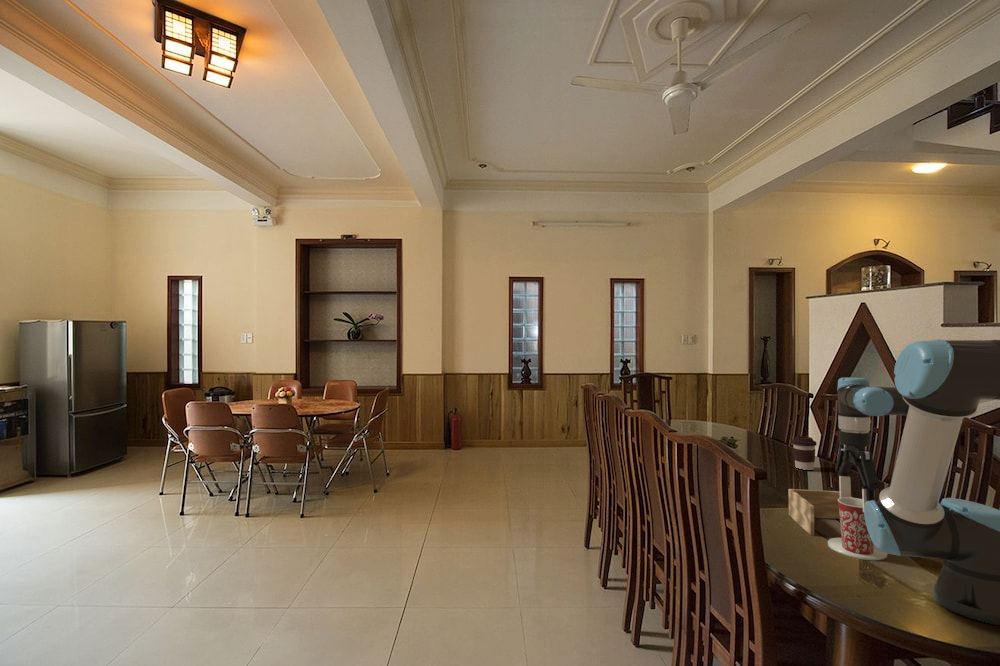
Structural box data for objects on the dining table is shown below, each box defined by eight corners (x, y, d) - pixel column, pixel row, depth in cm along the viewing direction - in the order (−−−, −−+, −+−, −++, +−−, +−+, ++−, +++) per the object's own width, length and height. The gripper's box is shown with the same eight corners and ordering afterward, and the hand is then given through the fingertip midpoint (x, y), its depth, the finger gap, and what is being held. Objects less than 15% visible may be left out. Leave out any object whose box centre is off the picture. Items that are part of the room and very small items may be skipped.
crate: (872, 539, 151) (871, 509, 152) (810, 535, 155) (810, 506, 155) (843, 518, 170) (843, 491, 170) (788, 514, 173) (788, 488, 173)
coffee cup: (796, 465, 241) (796, 434, 241) (820, 469, 233) (819, 437, 233) (788, 469, 234) (788, 437, 235) (812, 473, 227) (811, 440, 227)
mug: (877, 559, 136) (876, 509, 136) (837, 551, 141) (836, 503, 141) (877, 544, 146) (876, 497, 146) (840, 537, 151) (838, 492, 151)
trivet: (898, 562, 136) (898, 559, 136) (841, 558, 138) (841, 555, 138) (871, 542, 149) (871, 539, 149) (819, 538, 152) (819, 536, 152)
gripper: (893, 438, 131) (896, 520, 131) (848, 425, 156) (850, 493, 155) (861, 437, 133) (864, 518, 132) (821, 424, 157) (823, 492, 156)
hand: (856, 505), depth 144 cm, fingers open, 13 cm apart
